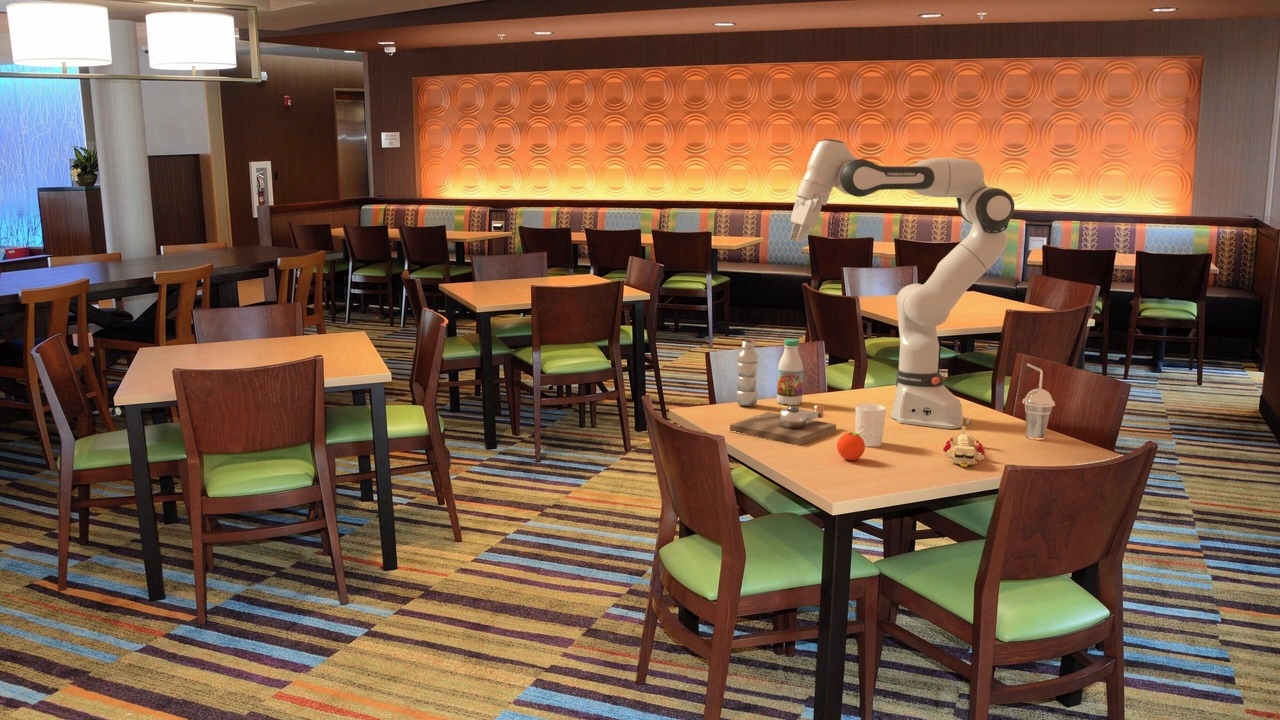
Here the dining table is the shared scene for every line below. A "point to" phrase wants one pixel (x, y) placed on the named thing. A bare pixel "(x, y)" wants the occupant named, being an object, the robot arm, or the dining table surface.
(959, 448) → the blocky toy figure
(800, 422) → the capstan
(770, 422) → the walnut stand
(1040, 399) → the cup with straw
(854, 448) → the clementine
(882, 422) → the white cup
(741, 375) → the plastic bottle
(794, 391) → the milk bottle
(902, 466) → the dining table surface
